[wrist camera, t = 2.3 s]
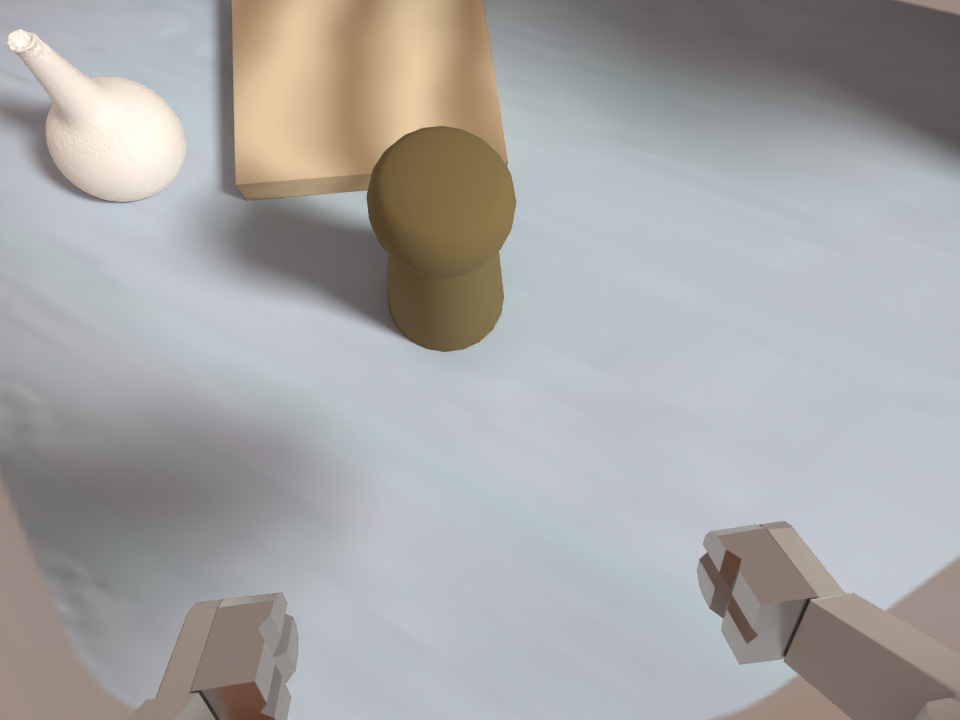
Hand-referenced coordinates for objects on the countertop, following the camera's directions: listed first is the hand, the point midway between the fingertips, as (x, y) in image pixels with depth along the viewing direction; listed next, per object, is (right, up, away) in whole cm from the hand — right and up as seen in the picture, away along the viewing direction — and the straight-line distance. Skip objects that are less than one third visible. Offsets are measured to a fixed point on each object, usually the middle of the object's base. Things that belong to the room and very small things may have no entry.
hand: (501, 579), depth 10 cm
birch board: (-7, +20, +20) cm, 29 cm away
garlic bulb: (-19, +15, +19) cm, 31 cm away
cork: (-2, +8, +18) cm, 19 cm away
